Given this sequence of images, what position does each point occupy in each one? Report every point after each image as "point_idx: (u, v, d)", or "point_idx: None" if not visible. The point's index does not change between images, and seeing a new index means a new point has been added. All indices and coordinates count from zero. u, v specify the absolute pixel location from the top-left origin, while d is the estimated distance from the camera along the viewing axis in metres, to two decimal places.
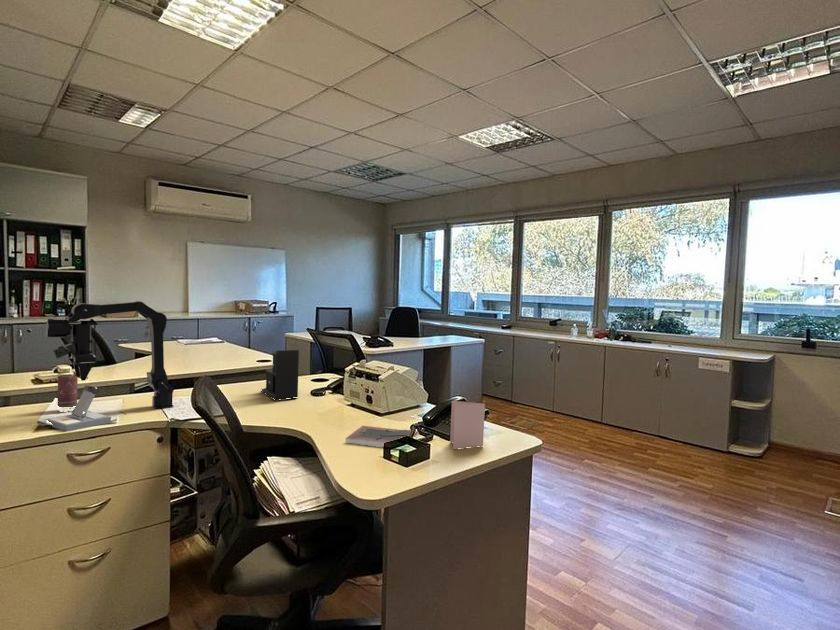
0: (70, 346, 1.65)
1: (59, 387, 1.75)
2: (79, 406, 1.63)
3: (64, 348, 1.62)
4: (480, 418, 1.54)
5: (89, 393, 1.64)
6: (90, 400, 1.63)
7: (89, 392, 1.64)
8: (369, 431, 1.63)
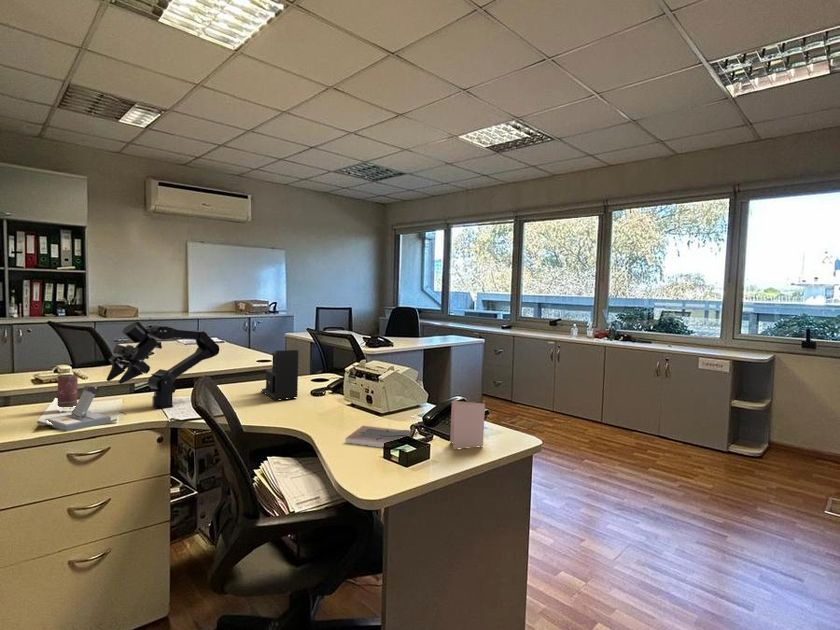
0: (133, 351, 1.76)
1: (59, 387, 1.75)
2: (79, 406, 1.63)
3: (132, 349, 1.74)
4: (480, 418, 1.54)
5: (89, 393, 1.64)
6: (90, 400, 1.63)
7: (89, 392, 1.64)
8: (369, 431, 1.63)
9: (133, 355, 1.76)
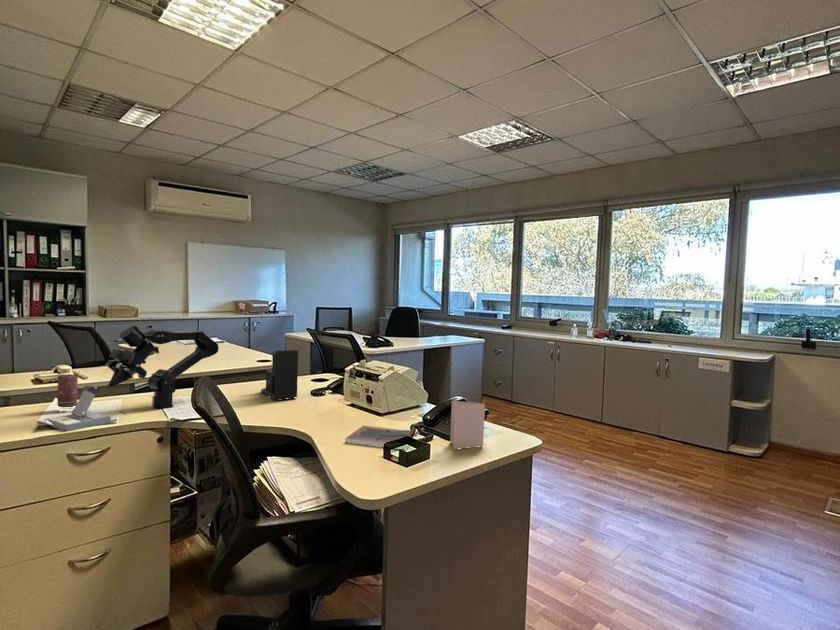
0: (130, 355, 1.75)
1: (59, 387, 1.75)
2: (79, 406, 1.63)
3: (129, 353, 1.73)
4: (480, 418, 1.54)
5: (89, 393, 1.64)
6: (90, 400, 1.63)
7: (89, 392, 1.64)
8: (369, 431, 1.63)
9: (130, 360, 1.75)
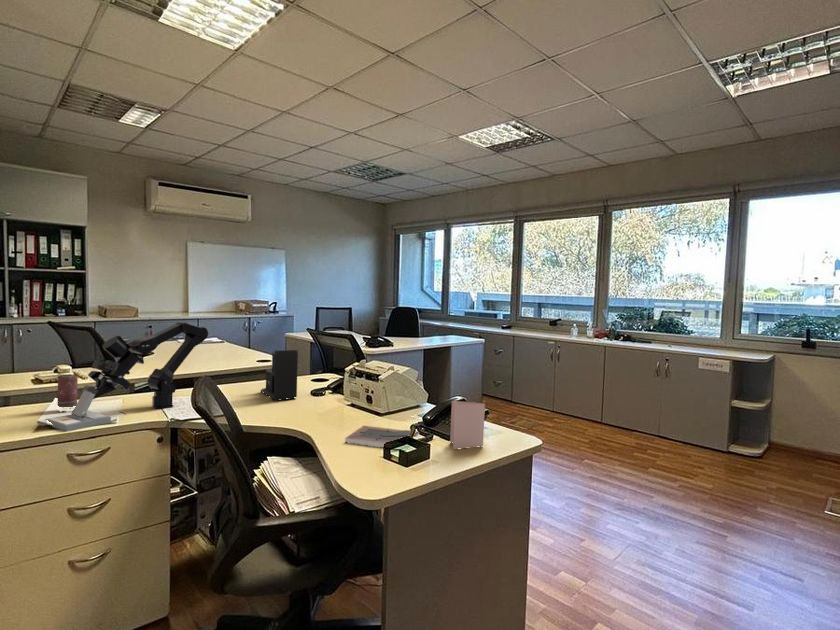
0: (113, 366, 1.70)
1: (59, 387, 1.75)
2: (79, 406, 1.63)
3: (112, 364, 1.68)
4: (480, 418, 1.54)
5: (89, 393, 1.64)
6: (90, 400, 1.63)
7: (89, 392, 1.64)
8: (370, 431, 1.63)
9: (113, 371, 1.69)
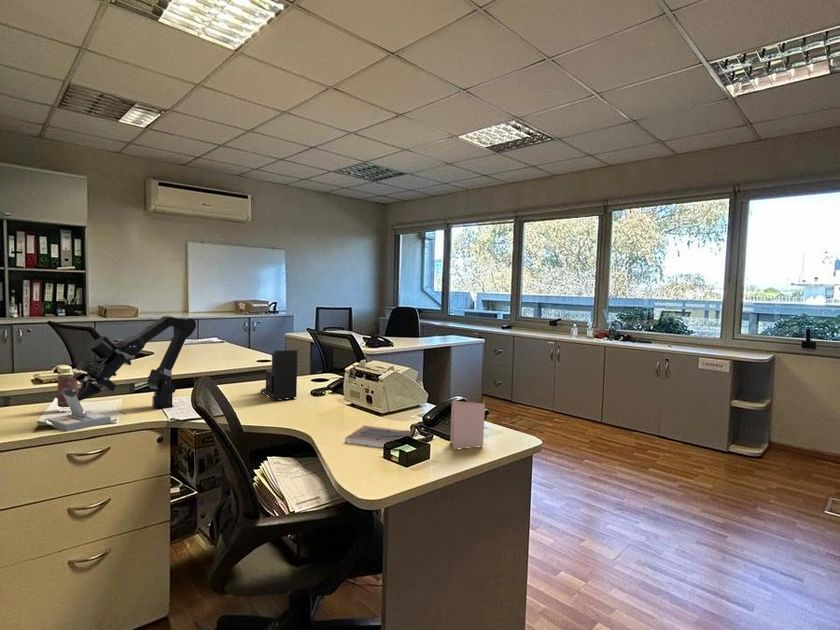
0: (99, 368, 1.66)
1: (59, 387, 1.75)
2: (73, 409, 1.61)
3: (97, 366, 1.63)
4: (480, 418, 1.54)
5: (70, 397, 1.58)
6: (77, 401, 1.60)
7: (69, 396, 1.58)
8: (370, 431, 1.63)
9: (98, 372, 1.65)
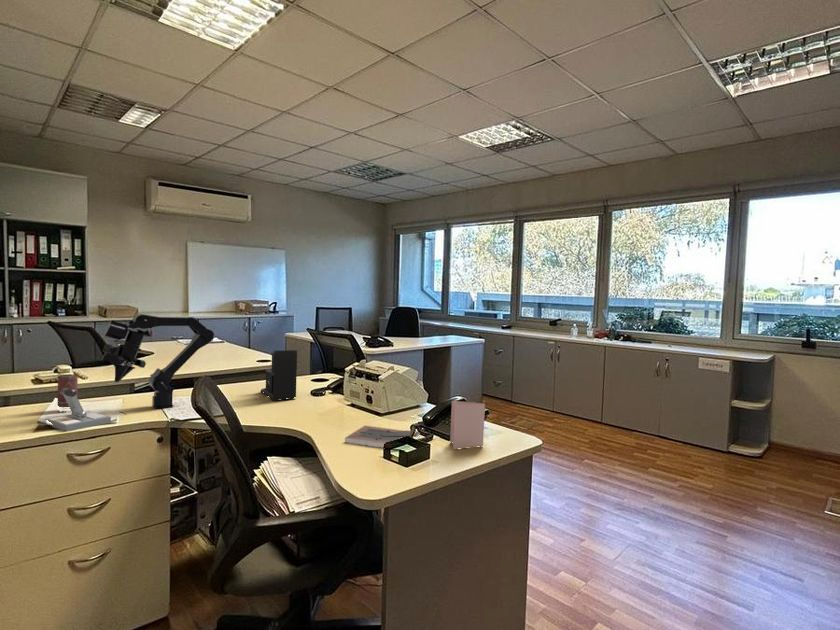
0: (117, 348, 1.79)
1: (59, 387, 1.75)
2: (73, 409, 1.61)
3: (108, 347, 1.77)
4: (480, 418, 1.54)
5: (70, 397, 1.58)
6: (77, 401, 1.59)
7: (69, 396, 1.58)
8: (370, 431, 1.63)
9: (116, 352, 1.78)
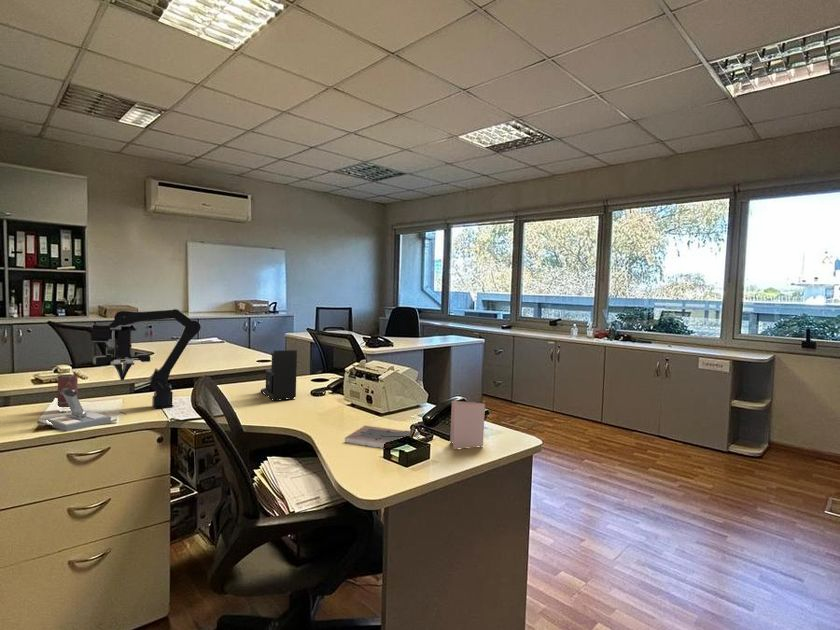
0: (113, 348, 1.83)
1: (59, 387, 1.75)
2: (73, 409, 1.61)
3: (106, 349, 1.83)
4: (480, 418, 1.54)
5: (70, 397, 1.58)
6: (77, 401, 1.59)
7: (69, 396, 1.58)
8: (370, 431, 1.63)
9: (112, 352, 1.82)
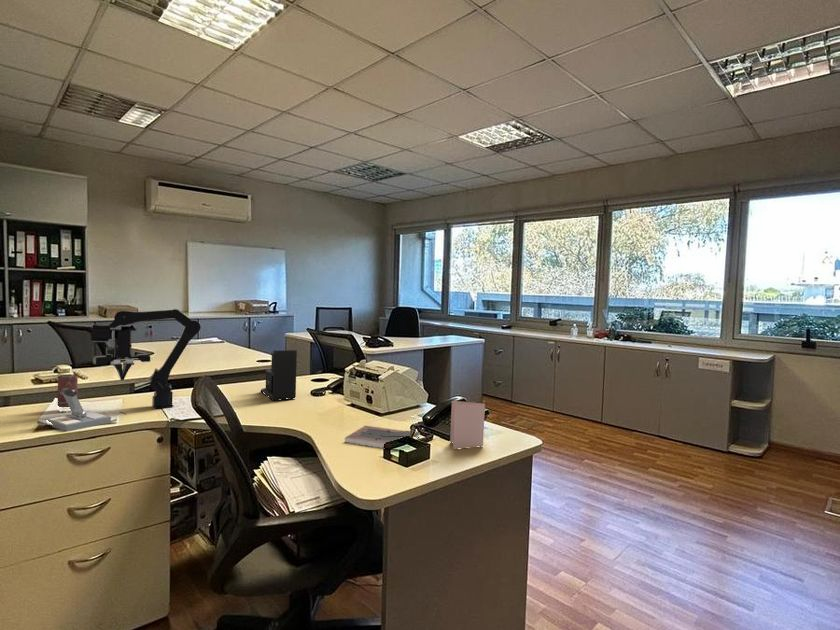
0: (113, 348, 1.83)
1: (59, 387, 1.75)
2: (73, 409, 1.61)
3: (106, 349, 1.83)
4: (480, 418, 1.54)
5: (70, 397, 1.58)
6: (77, 401, 1.59)
7: (69, 396, 1.58)
8: (370, 431, 1.63)
9: (112, 352, 1.82)
